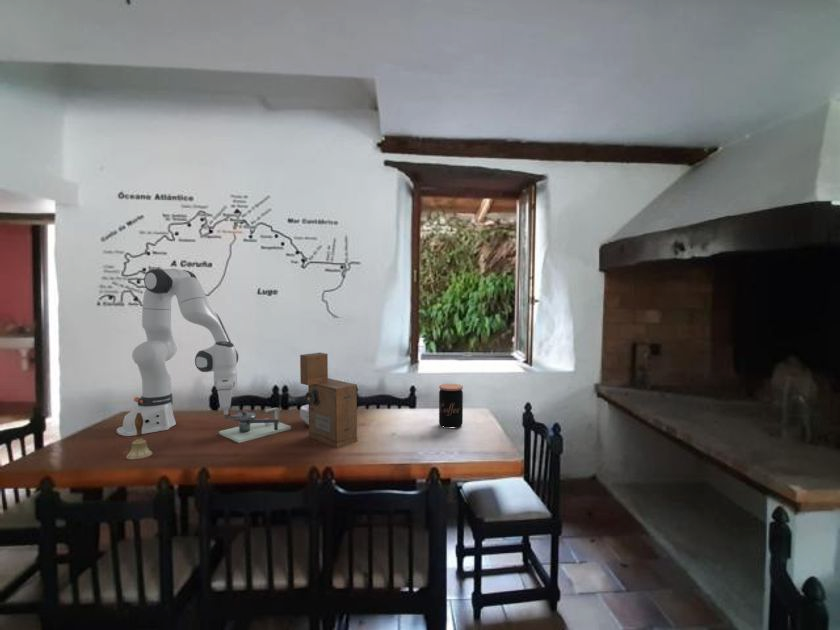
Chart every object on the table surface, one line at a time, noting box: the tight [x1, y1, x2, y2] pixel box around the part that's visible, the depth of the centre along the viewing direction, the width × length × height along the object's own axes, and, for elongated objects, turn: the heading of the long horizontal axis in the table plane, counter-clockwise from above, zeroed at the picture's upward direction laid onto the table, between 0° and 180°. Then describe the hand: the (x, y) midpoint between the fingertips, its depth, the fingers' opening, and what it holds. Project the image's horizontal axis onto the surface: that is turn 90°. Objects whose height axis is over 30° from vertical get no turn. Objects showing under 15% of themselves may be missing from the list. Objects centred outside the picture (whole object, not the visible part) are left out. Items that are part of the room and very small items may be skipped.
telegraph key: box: [223, 407, 279, 432], centre depth 192 cm, size 22×9×12 cm, turn 94°
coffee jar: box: [438, 383, 464, 428], centre depth 205 cm, size 11×11×18 cm
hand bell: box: [126, 413, 153, 461], centre depth 167 cm, size 8×8×16 cm
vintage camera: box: [299, 352, 358, 449], centre depth 184 cm, size 19×14×35 cm
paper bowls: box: [299, 404, 309, 426], centre depth 208 cm, size 15×15×8 cm
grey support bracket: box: [264, 406, 281, 426], centre depth 202 cm, size 6×2×7 cm, turn 139°
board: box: [218, 410, 292, 444], centre depth 196 cm, size 24×17×10 cm
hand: (226, 413), depth 188 cm, fingers closed
